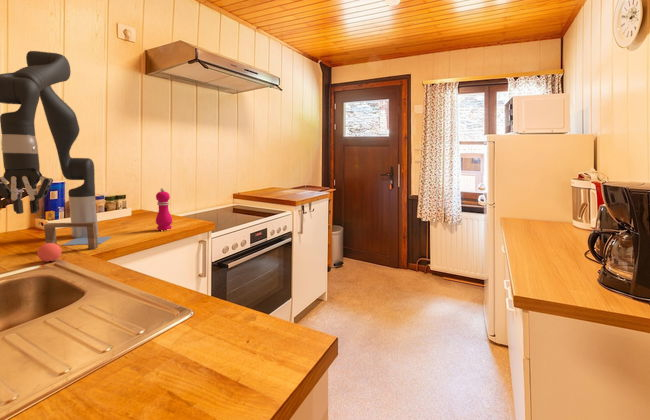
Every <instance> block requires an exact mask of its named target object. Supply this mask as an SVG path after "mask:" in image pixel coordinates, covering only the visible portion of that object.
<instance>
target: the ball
mask: <svg viewBox="0 0 650 420" xmlns="http://www.w3.org/2000/svg"><path fill="white" fill-rule="evenodd" d="M62 252H63V251H62V248H61V246H60V245H58V243H57V244H54V243H46V242H45V243H44V244H42V245H41V246H40V247H39V248H38V249H37V257H38V258H39V260H41V261H43V262H45V263H50V262H49V261H52V262H55V261H56V260H59V258H60V257H61V255H62ZM54 260H55V261H54Z"/></svg>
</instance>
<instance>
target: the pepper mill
mask: <svg viewBox="0 0 650 420" xmlns="http://www.w3.org/2000/svg"><path fill="white" fill-rule="evenodd" d="M165 190H166V189H165V188H164V187H162V188H160V191H158V192H157V193H156V195H155V199H156V200H157V205H158V212H157V214H156V218H155V223H156V225H157V227H156V229H158V230H167V229H171V228H173V227H172V225H171V224H173V216H172V215H171V213H170V210H169V205H170V202H169V200H170V199H171V195H170V193H169V192H168V191H165ZM158 230H157V231H158Z"/></svg>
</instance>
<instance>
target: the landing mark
mask: <svg viewBox="0 0 650 420" xmlns="http://www.w3.org/2000/svg"><path fill="white" fill-rule="evenodd" d="M111 238H112V236H97V242H98V245H101V244H103V243H105V242H107V241H108V240H110V239H111ZM81 245H88V237H84V238H74V239H72V240H70V241H67V242H66V243H63V244H62V246H81Z"/></svg>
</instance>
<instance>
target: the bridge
mask: <svg viewBox="0 0 650 420" xmlns="http://www.w3.org/2000/svg"><path fill="white" fill-rule="evenodd" d="M71 227H87V237H88V244H87V246H88V250H91V251H92V250H96V249H97V248H99V244H98V242H97V237H98V235H97V229H96V222H74V223H71V222H48V223H44V224H43V228H44V237H45V244H46V243H54V244H57V245H58V243H57V232H56V231H57V230H56V229H57V228H71Z"/></svg>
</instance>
